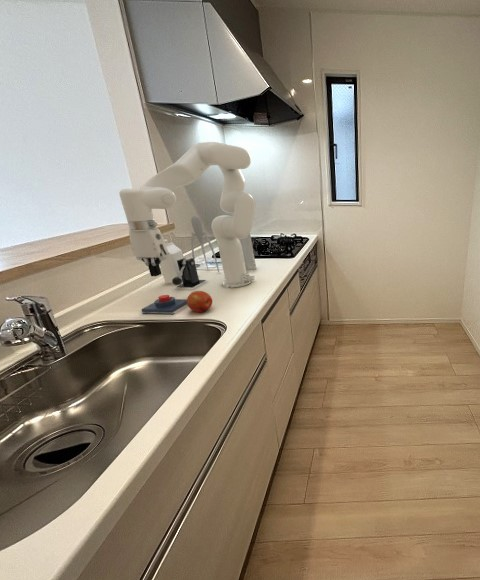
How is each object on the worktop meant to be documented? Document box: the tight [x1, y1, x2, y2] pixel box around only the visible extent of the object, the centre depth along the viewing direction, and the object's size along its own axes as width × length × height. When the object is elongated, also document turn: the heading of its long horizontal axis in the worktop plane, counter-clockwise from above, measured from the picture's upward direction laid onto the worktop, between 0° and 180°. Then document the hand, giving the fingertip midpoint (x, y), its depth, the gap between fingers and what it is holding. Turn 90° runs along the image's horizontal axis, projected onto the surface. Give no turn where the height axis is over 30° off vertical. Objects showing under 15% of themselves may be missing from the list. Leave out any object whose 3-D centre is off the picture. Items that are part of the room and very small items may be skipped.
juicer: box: [190, 214, 220, 273], centre depth 157 cm, size 10×9×30 cm
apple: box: [186, 290, 213, 313], centre depth 118 cm, size 8×8×8 cm
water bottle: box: [239, 233, 257, 271], centre depth 165 cm, size 9×8×25 cm
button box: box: [140, 296, 187, 316], centre depth 121 cm, size 12×10×4 cm
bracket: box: [176, 257, 207, 289], centre depth 144 cm, size 10×8×13 cm
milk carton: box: [159, 241, 185, 284], centre depth 147 cm, size 7×7×19 cm
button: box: [157, 294, 171, 302], centre depth 120 cm, size 4×4×2 cm
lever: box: [171, 258, 189, 286], centre depth 139 cm, size 13×4×4 cm
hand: (156, 275), depth 116 cm, fingers closed
